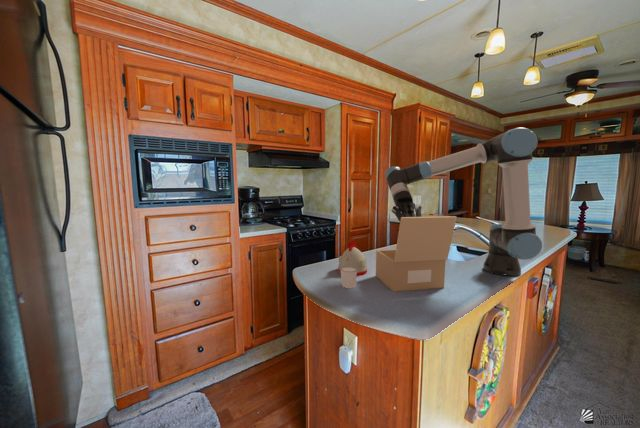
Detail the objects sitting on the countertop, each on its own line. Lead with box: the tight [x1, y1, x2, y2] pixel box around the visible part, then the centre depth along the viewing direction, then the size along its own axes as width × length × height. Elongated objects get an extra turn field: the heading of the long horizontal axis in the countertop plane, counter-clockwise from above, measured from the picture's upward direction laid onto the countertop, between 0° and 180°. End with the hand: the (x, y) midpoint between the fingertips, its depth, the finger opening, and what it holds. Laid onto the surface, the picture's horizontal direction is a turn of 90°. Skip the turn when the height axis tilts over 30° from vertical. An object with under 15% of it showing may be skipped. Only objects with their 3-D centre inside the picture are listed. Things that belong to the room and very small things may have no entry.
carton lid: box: [394, 215, 457, 262], centre depth 100 cm, size 18×22×1 cm
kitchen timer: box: [337, 240, 368, 277], centre depth 127 cm, size 14×14×15 cm
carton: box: [375, 249, 446, 293], centre depth 113 cm, size 18×22×12 cm
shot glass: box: [340, 267, 358, 289], centre depth 109 cm, size 7×7×7 cm
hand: (418, 241), depth 102 cm, fingers closed
